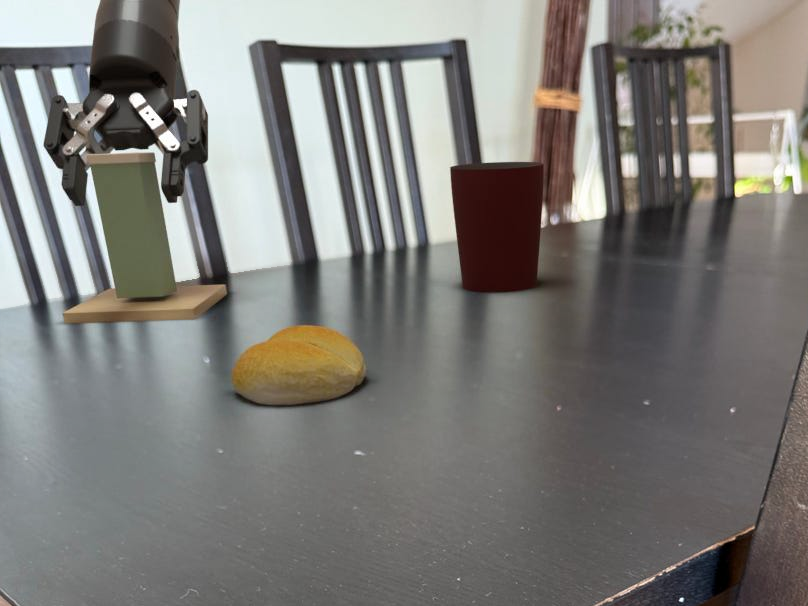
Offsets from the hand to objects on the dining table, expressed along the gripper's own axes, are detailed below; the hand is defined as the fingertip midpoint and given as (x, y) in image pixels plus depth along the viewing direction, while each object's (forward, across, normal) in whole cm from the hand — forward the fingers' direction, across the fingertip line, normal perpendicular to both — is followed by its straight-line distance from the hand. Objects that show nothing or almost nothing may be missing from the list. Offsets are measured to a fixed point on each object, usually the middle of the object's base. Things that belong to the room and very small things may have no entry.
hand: (122, 198), depth 84 cm
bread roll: (+27, +20, -13) cm, 36 cm away
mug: (+1, +34, +13) cm, 36 cm away
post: (+5, 0, +7) cm, 9 cm away
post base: (+6, 0, +8) cm, 10 cm away
